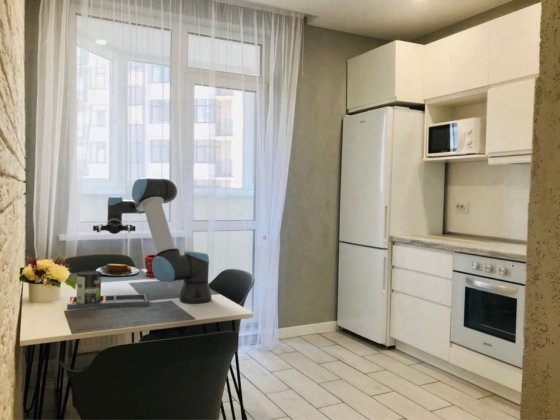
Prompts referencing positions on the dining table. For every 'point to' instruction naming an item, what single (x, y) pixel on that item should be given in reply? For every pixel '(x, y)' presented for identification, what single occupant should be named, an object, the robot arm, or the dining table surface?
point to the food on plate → (117, 270)
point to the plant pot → (149, 265)
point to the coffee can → (88, 287)
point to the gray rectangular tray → (110, 304)
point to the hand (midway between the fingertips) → (114, 229)
